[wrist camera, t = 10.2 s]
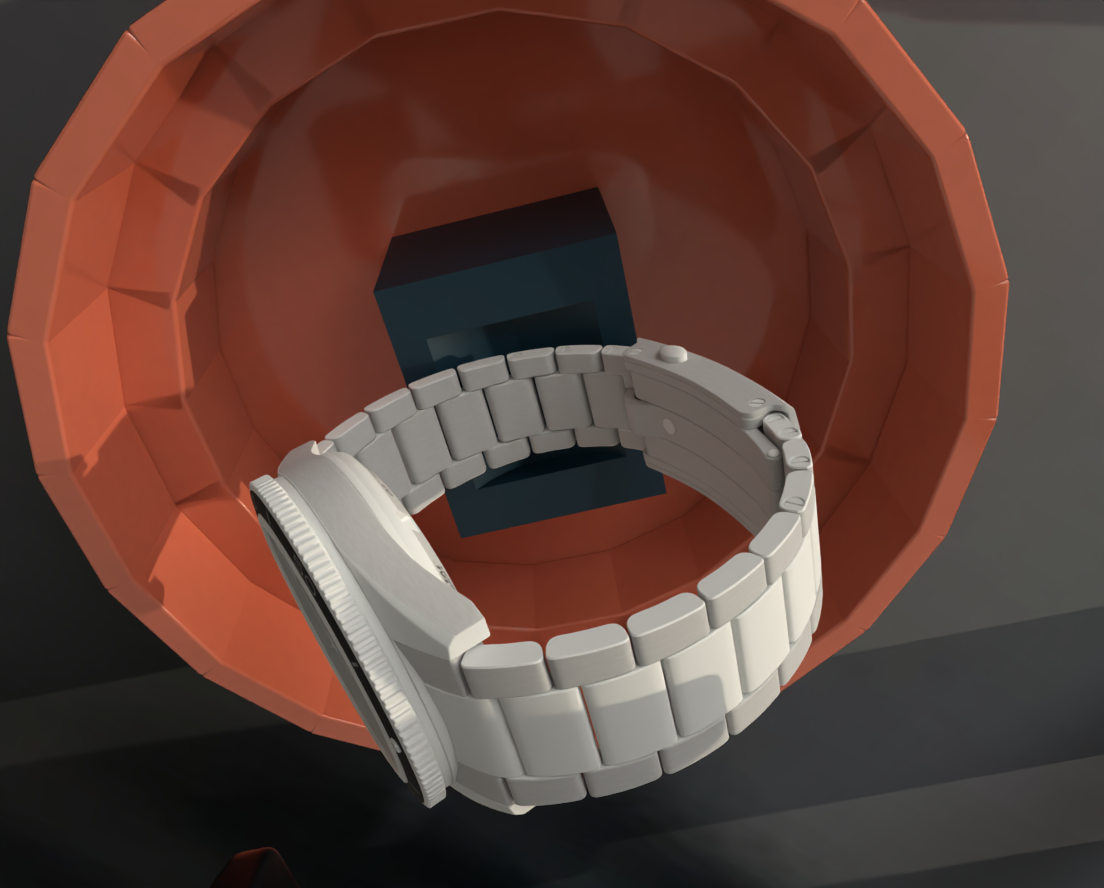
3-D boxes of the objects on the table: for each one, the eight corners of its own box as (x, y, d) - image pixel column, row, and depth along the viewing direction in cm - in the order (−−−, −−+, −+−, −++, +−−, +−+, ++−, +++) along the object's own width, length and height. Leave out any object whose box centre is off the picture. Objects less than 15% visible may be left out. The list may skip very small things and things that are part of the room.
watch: (300, 259, 18) (77, 634, 8) (684, 165, 17) (914, 449, 8) (387, 479, 21) (295, 945, 11) (718, 405, 20) (917, 825, 11)
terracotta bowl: (877, 535, 23) (975, 690, 18) (294, 645, 24) (244, 820, 19) (879, -203, 15) (1058, -265, 10) (-14, 4, 16) (-235, 35, 11)
